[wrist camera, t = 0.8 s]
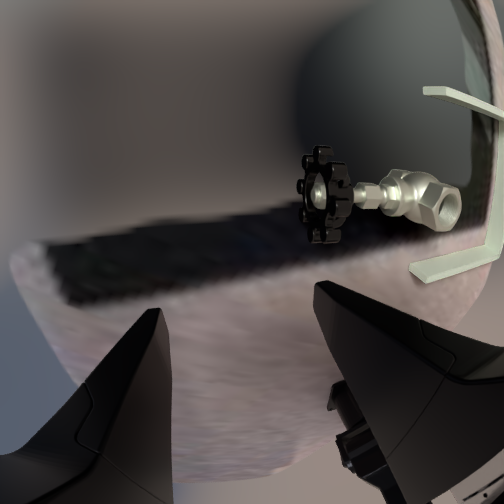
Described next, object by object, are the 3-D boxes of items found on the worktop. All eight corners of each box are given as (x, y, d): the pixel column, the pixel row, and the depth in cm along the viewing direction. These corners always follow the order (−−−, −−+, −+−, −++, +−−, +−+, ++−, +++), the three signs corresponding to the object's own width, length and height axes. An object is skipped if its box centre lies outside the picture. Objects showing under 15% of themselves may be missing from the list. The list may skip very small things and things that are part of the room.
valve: (416, 154, 21) (297, 141, 19) (470, 169, 16) (341, 150, 13) (407, 221, 24) (293, 226, 22) (454, 249, 18) (329, 264, 16)
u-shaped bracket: (485, 249, 29) (499, 258, 27) (408, 269, 27) (425, 283, 24) (501, 115, 21) (518, 118, 18) (422, 86, 19) (445, 86, 16)
